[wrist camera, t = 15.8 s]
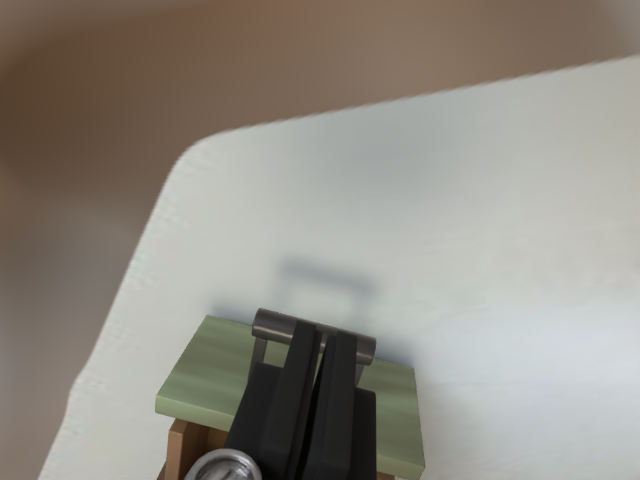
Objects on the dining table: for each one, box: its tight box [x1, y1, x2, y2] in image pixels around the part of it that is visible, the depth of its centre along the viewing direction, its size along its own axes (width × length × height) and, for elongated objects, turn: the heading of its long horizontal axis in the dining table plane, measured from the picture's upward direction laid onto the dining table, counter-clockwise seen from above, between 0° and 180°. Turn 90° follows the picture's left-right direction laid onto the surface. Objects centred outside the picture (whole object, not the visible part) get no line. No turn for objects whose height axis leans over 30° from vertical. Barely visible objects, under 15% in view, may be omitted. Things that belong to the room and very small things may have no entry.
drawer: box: [155, 308, 425, 480], centre depth 25 cm, size 18×13×7 cm
